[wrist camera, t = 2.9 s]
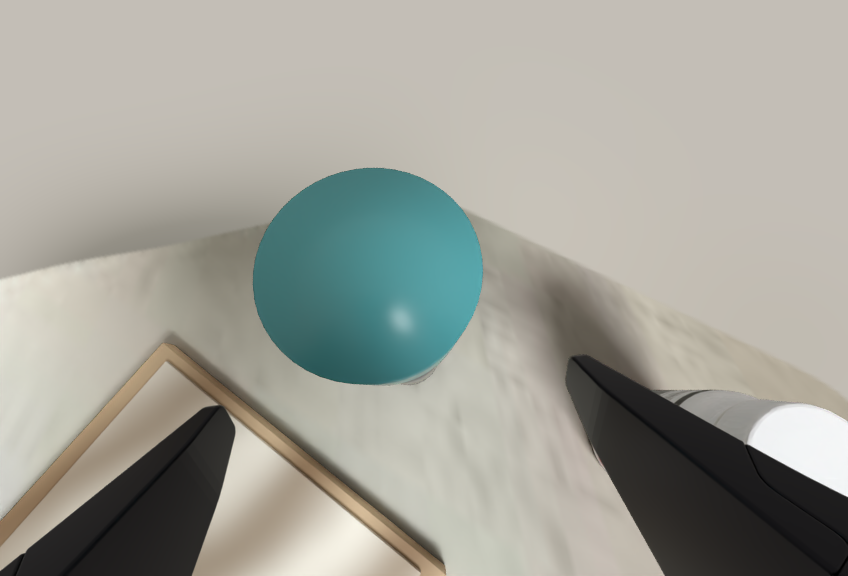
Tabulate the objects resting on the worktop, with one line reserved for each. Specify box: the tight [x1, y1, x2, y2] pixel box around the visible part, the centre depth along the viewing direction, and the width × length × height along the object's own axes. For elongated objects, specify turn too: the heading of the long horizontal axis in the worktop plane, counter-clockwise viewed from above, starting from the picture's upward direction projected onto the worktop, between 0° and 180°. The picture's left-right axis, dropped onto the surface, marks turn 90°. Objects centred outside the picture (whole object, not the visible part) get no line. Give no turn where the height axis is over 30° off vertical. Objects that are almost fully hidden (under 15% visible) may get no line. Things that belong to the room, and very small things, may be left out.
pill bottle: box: [592, 390, 848, 497], centre depth 13 cm, size 5×5×8 cm
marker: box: [253, 168, 483, 385], centre depth 12 cm, size 4×4×14 cm
